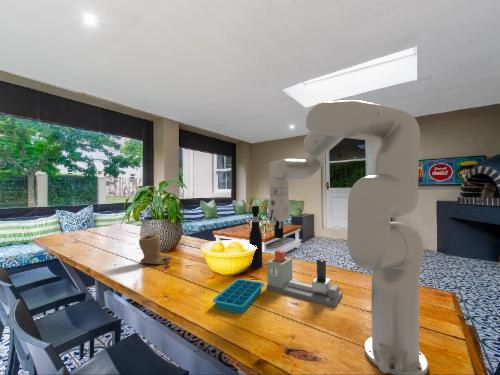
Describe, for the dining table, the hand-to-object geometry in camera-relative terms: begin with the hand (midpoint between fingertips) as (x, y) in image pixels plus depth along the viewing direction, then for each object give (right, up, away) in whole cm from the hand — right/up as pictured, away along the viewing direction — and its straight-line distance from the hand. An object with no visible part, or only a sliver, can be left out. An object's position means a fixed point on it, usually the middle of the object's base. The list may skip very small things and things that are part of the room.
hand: (278, 237), depth 97 cm
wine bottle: (-9, -19, +24) cm, 32 cm away
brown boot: (-62, -20, +31) cm, 72 cm away
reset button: (0, -11, 0) cm, 11 cm away
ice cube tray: (-15, -20, -10) cm, 27 cm away
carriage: (+14, -17, -10) cm, 24 cm away
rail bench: (+8, -19, -6) cm, 22 cm away
